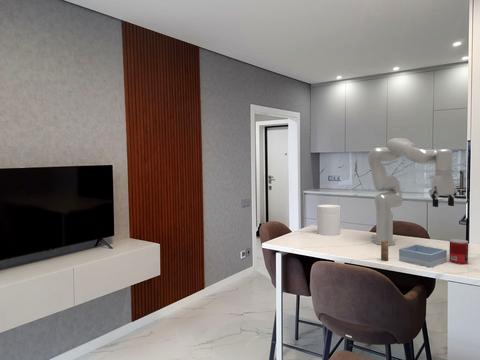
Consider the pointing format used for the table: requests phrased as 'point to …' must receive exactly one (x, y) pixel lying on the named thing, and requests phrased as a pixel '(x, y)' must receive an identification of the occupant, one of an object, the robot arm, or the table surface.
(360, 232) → the table surface
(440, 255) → the slate box
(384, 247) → the walnut peg
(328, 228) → the canister
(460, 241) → the canned food
